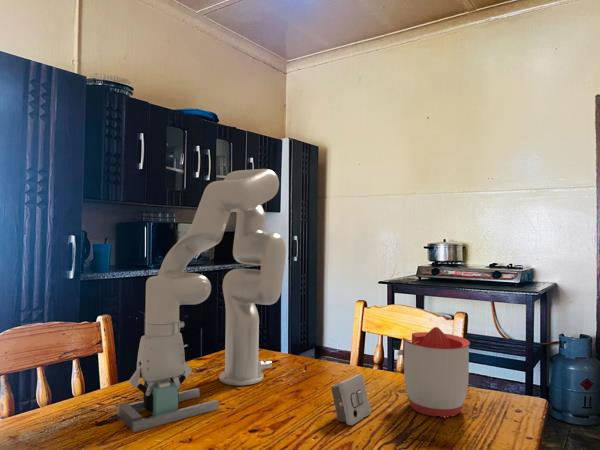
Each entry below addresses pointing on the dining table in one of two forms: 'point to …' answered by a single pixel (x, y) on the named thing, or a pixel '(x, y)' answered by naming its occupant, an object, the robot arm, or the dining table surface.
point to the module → (164, 397)
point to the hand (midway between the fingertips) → (161, 406)
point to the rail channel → (137, 423)
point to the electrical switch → (351, 400)
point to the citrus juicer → (436, 372)
